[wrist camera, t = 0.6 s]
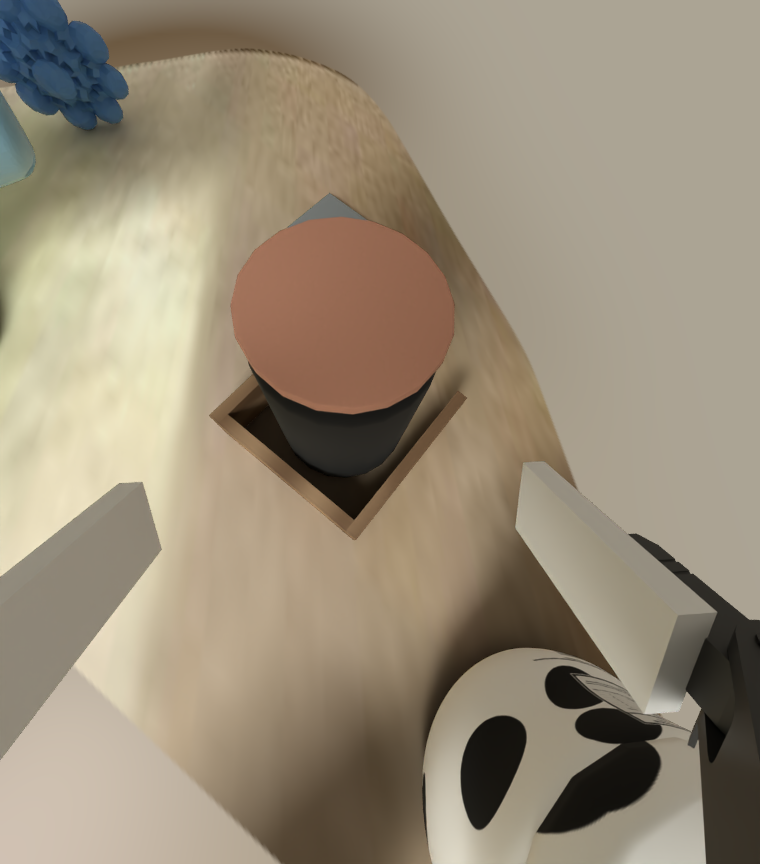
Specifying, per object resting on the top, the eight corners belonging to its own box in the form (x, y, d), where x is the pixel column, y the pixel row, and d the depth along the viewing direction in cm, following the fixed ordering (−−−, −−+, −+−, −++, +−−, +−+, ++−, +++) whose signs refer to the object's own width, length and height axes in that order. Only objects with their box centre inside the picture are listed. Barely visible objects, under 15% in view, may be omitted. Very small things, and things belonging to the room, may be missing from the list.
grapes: (37, 163, 39) (-86, 8, 28) (31, 119, 41) (-88, -44, 30) (151, 148, 42) (80, -2, 30) (141, 107, 43) (69, -50, 32)
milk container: (456, 967, 24) (742, 2001, 7) (383, 679, 29) (447, 880, 11) (669, 851, 27) (1230, 1371, 10) (573, 607, 32) (849, 681, 14)
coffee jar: (351, 352, 37) (361, 184, 20) (422, 432, 35) (501, 323, 18) (262, 415, 34) (181, 281, 17) (334, 504, 32) (327, 458, 15)
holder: (226, 432, 33) (208, 415, 29) (334, 325, 37) (334, 297, 33) (354, 540, 31) (356, 539, 27) (452, 415, 36) (467, 397, 31)
